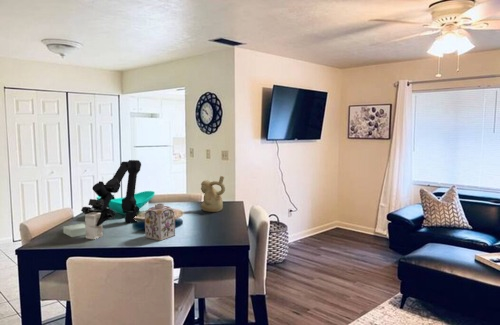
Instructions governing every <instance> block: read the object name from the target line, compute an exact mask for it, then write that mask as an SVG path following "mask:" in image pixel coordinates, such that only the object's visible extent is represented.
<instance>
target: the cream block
mask: <svg viewBox="0 0 500 325" xmlns="http://www.w3.org/2000/svg"><path fill="white" fill-rule="evenodd" d="M100 217H101V213H97V212H91V213H88V214H84V219H85V220H84V223H85V230H86V234H85V239H89V240H94V239H95V240H97V239H99V237H100V238H102V237H104V236H103V234H104V233H103V232H104V231H103V223H102V224H101V225H99V226H96V225H97V222H98V220H99V219H100ZM96 238H97V239H96Z"/></svg>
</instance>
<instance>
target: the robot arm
mask: <svg viewBox="0 0 500 325" xmlns="http://www.w3.org/2000/svg"><path fill="white" fill-rule="evenodd" d="M141 167H142V162H141V161H140V160H138V159H136V160H135V159H129V160H127V161H121V162H120V165H119V168H118V169H117V170H116V172H115V173H114V175H113V177H112V178H110V179H109V180H108V181H107V182H106V183H104V181H99V182H97V183H95V184H94V185H93V186H92V190H93V192H94V193H95V194H96V195H97V197H100V199H98V200H97V198H95V199H93V198H89V201H88V203H87V204H88V206H82V208H81V210H80V211H81V212H82V213H83V215H85V214H88V213H91V212H97V213H101V217H100V219H99V220H98V222H97V225H96V226H99V225H101V224H102V225H103V223H105V222H106V221H108V220H111V219H114V218H115V217H116V211H113V210H112V209H111V208H109V203H110V201H111V199H116V198H115V196H114V194H116V193H117V194H118V192H119V190H120V188H121V181H122V180H123V178H125V175H126V174H127V173H128V177H127V178H128V179H127V185H126V193H125V198H124V197H123V198H124V199H122V204H121V205H122V210H123V213H126V214H124V222H125V223H126V224H136V223H138V220H137V221H135V220H134V219H133V218H134V217H135V216H137V215H138V213H139V212H140V209H139V208H138V206H137V205H136V200H135V198H134V195H135V194H136V185H137V177H138V176H137V175H138V174H139V172H140V171H141ZM90 206H92V207H90Z"/></svg>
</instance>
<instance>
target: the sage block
mask: <svg viewBox="0 0 500 325" xmlns="http://www.w3.org/2000/svg"><path fill="white" fill-rule="evenodd" d="M62 228H63V234H64V235H67V236H69V237H71V238H74V237H79V236H84V235H86V230H85V222H81V223H75V224H70V225H66V226H65V225H64V226H62Z"/></svg>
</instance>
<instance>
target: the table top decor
mask: <svg viewBox="0 0 500 325" xmlns="http://www.w3.org/2000/svg"><path fill="white" fill-rule="evenodd" d="M155 194H156V193H155V191H152V190H144V191H140V192H138V193H135V195H134V198H135V200H136V205H137V206H138V208H139V210H140V209H141V208H142V207H144V206H145V205H146V204H147V203H148V202H150V201H151V200H152V199H153V198H154V196H155ZM125 197H126V196H125ZM125 197H116V198H115V199H111V201H110V203H109V208H111V209H112V210H113V211H114V212H115V213H118V214H120V215H126V213H123V210H122V205H121V204H122V199H124V198H125ZM98 199H100V197H99V196H96V200H98Z"/></svg>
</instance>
